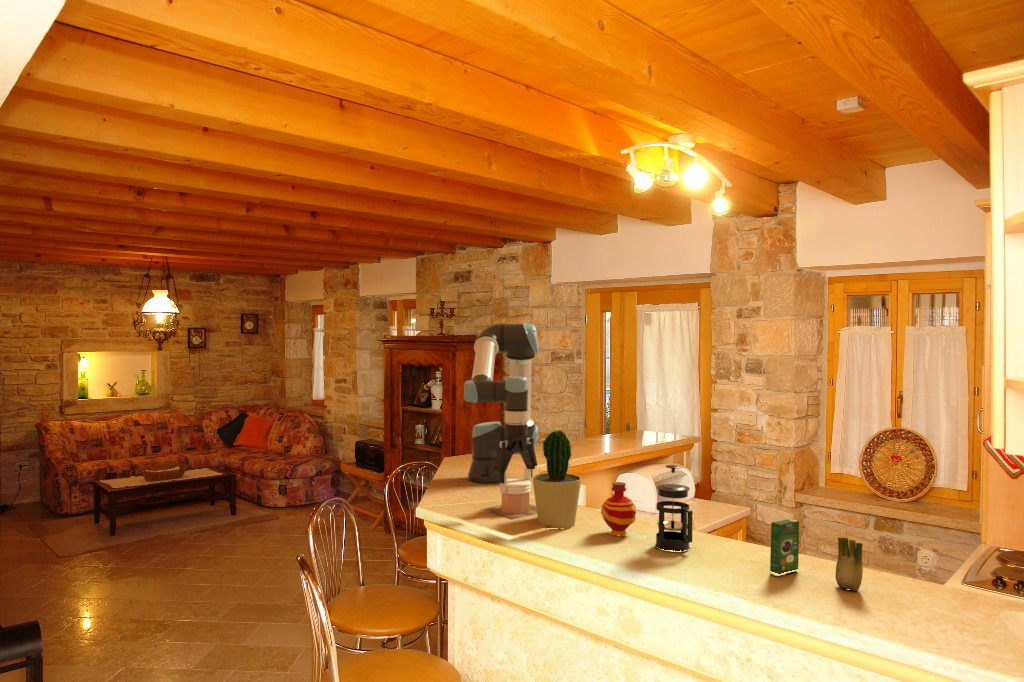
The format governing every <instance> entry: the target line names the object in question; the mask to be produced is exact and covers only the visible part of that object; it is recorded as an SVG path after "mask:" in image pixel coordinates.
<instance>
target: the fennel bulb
mask: <svg viewBox="0 0 1024 682" xmlns="http://www.w3.org/2000/svg"><path fill="white" fill-rule="evenodd" d="M837 545H838V547H837V549H838V556H837V561H836V565H835V576H834V577H835V580H836V584H837V585H838V587H840V588H841V587H842V588H841V589H843V588H845V589H850V590H858V591H859V590H860V587H861V585H862V579H863V572H864V571H863V570H864V569H863V567H864V566H863V545H864V544H863V543H862V542H861V541H857V540H856V539H852V538H851V539H849V538H848V537H844V536H838V537H837ZM845 589H844V590H845Z"/></svg>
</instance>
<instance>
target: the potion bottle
mask: <svg viewBox="0 0 1024 682" xmlns="http://www.w3.org/2000/svg"><path fill="white" fill-rule="evenodd" d="M611 484H612V487H611V491H613V494H612V495H611V497H607V498H606V500H605V501H604V502H603V503H602V505H601V510H600V514H601V516H602V519H603V521H604V522H605V524H606V525H607V526H608V527H609V528H610V529H611V530H610V532H609V534H610V533H611V534H610V535H612V534H613V535H612V536H614V535H626V534H627V535H628V532H627V529H628V528H629V527H630V526H631V525H633V524H634V523H635V522H636V519H637V517H636V514H637V506H636V504H634V502H633V500H632V499H631V498H629V497H627V496H625V492H626V491H627V487H626V485H627V482H622V481H621V482H620V481H614V482H612V483H611ZM627 535H626V536H627Z"/></svg>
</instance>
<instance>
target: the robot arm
mask: <svg viewBox="0 0 1024 682" xmlns="http://www.w3.org/2000/svg"><path fill="white" fill-rule="evenodd" d="M537 334H538V333H537V328H536V326H535V325H534V324H533V323H532V324H531V323H530V324H529V323H495V324H491V325H490V326H487V327H486V328H484V329H483V330H482V331H481V332H480V333H478V334H477V336H476V338H475V340H474V344H473V350H474V353H475V355H474V363H473V367H472V368H473V369H472V375H471V379H469V380H465V382H464V383H463V399H464V401H465V402H467V403H499V404H500V403H505V405H504V406H505V408H504V422H505V425H502V422H501V421H488V422H487V421H486V422H481V423H477V424H475V425H474V426H473V427H472V435H471V437H472V449H471V450H472V451H471V457H472V459H471V464H470V466H469V467H470V468H469V470H468V473H467V481H469V480H470V482H472V481H474V482H473V483H479V482H480V483H482V484H486V483H487V484H489V483H490V482H494V483H499V493H501V494H502V493H505V494H506V493H507V479H508V473H507V472H506V471H507V469H508V467H509V464H510V463H511V460H512V457H513V455H520V456H521V459H522V461H523V463H524V465H525V467H524V469H523V475H524V476H523V479H526V480H529V481H530V482H531V484H530V486H531V488H530V489H531V490H532V479H533V478H532V476H533V470H535V469H536V467H537V466H538V461H537V456H536V452H535V451H536V446H537V441H538V440H537V439H538V432H539V427H538V425H535V421H534V420H533V419H532V412H531V411H532V399H531V398H532V361H533V360H535V359H536V354H538V353H539V343H538V342H539V341H538V335H537ZM500 353H501V354H505V358H506V360H508V361H509V376H508V377H506V378H505V380H494V373H495V371H494V370H495V361H496V356H497V354H500Z"/></svg>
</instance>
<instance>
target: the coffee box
mask: <svg viewBox="0 0 1024 682" xmlns="http://www.w3.org/2000/svg"><path fill="white" fill-rule="evenodd" d="M799 540H800V521H799V520H797V519H793V518H787V519H782V520H777V521H776V520H775V521H771V522H770V561H769V562H770V563H769V564H770V565H769V572H770V571H772V572H775V573H778V574H781V573H784V572H788V571H792V570H796V569H798V570H799V552H800V550H799V545H800V544H799V542H800V541H799Z"/></svg>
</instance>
